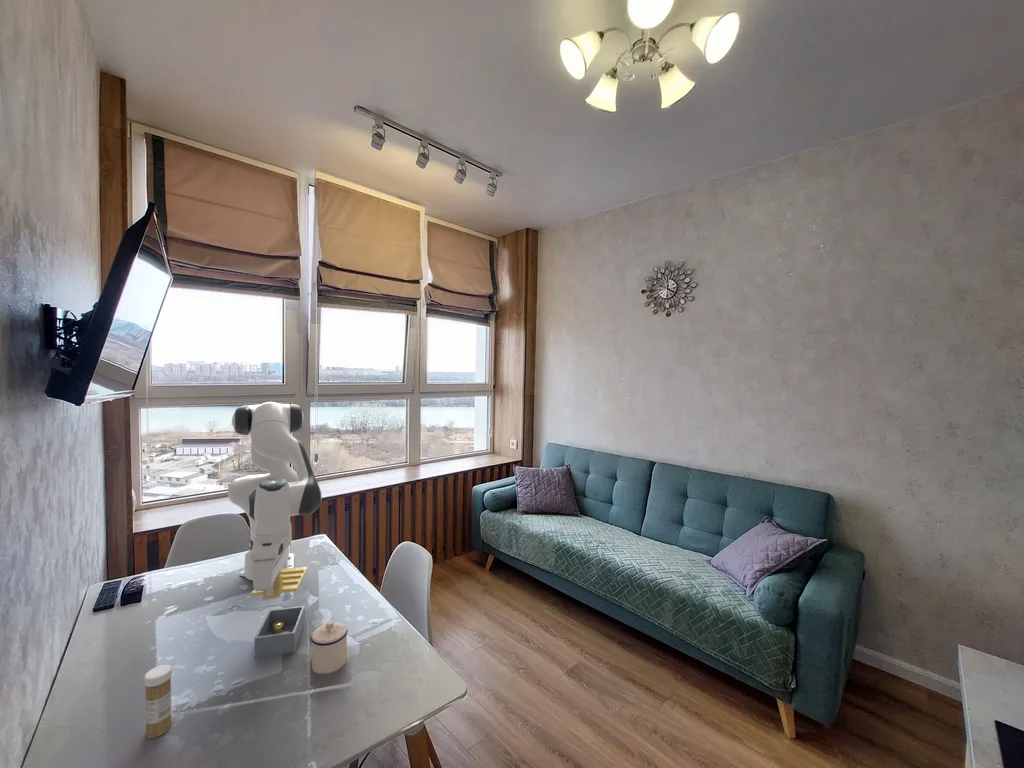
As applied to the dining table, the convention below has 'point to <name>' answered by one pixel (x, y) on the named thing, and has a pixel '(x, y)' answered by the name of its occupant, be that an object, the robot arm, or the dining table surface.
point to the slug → (278, 627)
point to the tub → (284, 641)
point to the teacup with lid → (329, 647)
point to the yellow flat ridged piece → (285, 582)
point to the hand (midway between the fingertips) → (272, 589)
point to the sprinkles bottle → (158, 701)
